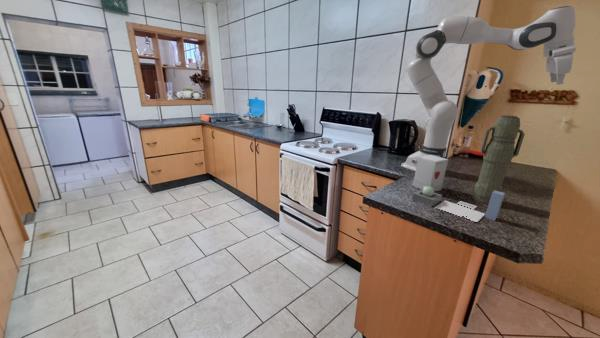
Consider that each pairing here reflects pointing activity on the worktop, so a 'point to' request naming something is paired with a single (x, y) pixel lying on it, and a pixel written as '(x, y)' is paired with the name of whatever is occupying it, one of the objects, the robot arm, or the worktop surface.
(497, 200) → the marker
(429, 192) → the button
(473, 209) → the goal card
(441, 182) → the supplement box
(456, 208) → the white flat plate
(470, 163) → the worktop surface
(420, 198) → the button housing
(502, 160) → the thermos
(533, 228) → the worktop surface
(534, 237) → the worktop surface
